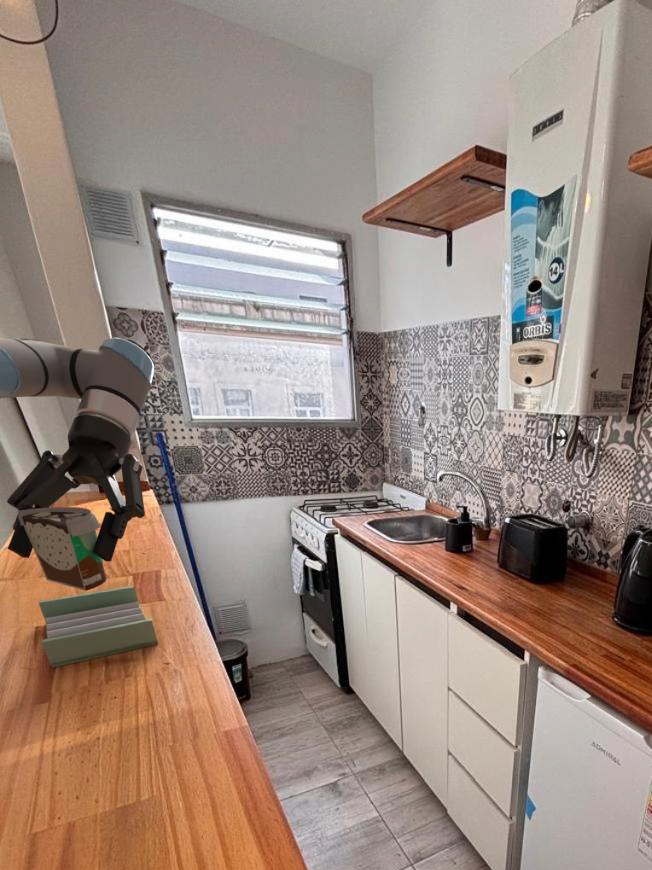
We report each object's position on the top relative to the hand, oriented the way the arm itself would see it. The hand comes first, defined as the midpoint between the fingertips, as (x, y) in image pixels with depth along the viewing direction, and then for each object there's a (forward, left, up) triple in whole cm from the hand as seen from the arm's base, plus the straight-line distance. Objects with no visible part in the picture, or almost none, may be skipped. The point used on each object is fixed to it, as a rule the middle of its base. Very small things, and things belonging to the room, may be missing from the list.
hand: (60, 555), depth 73 cm
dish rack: (0, +3, -14) cm, 14 cm away
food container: (+1, +2, -4) cm, 5 cm away
